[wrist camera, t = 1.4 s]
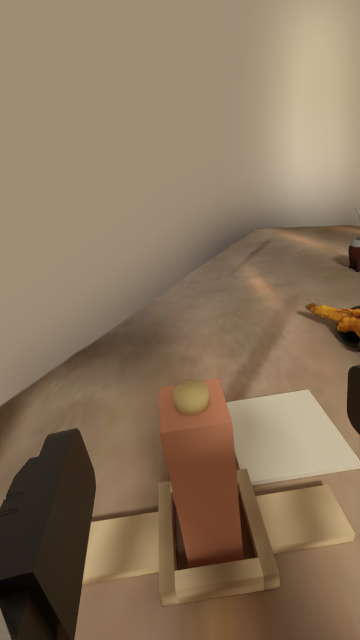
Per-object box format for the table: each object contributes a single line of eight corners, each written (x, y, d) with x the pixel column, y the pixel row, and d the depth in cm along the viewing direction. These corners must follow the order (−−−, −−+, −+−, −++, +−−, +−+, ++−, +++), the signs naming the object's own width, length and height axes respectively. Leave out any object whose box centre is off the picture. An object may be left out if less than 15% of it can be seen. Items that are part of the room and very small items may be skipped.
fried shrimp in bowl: (409, 353, 39) (290, 288, 49) (383, 387, 48) (287, 325, 58) (446, 308, 41) (325, 254, 51) (415, 348, 50) (317, 295, 60)
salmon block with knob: (189, 568, 25) (156, 420, 18) (184, 513, 29) (156, 376, 22) (243, 559, 25) (231, 409, 18) (231, 506, 29) (217, 367, 22)
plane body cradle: (70, 621, 23) (62, 608, 22) (92, 506, 31) (87, 493, 30) (371, 573, 23) (374, 558, 22) (315, 471, 31) (316, 457, 30)
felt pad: (244, 486, 31) (244, 482, 30) (221, 406, 42) (220, 403, 41) (361, 468, 31) (362, 464, 31) (307, 393, 42) (308, 389, 41)
